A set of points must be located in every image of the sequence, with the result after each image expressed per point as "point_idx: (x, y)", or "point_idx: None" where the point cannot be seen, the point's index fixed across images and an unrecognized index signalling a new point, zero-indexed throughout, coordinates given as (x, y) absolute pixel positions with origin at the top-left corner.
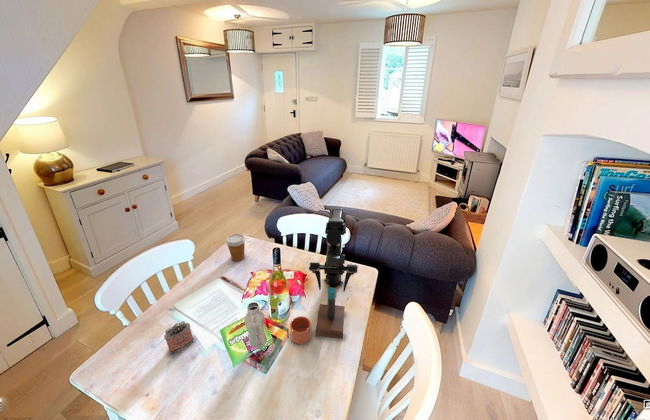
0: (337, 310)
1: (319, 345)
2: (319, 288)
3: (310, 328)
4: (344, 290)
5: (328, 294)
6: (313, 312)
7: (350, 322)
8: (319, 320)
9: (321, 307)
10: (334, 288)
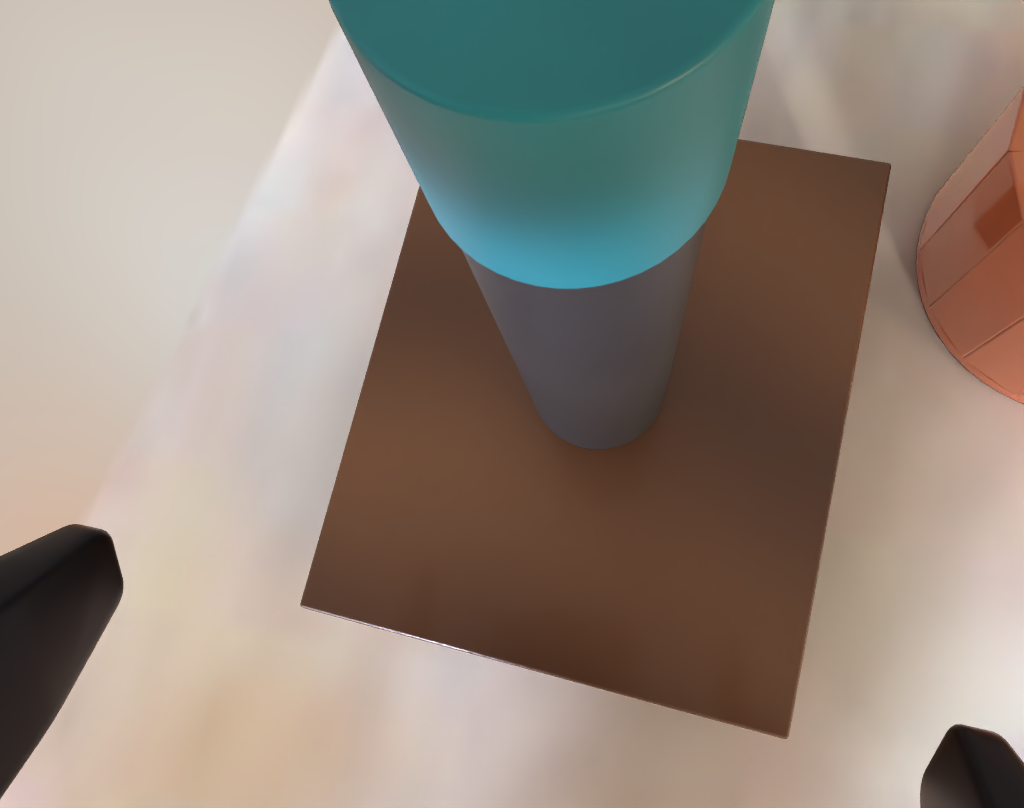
0: (453, 513)
1: (795, 102)
2: (1018, 771)
3: (993, 142)
4: (56, 534)
5: None
6: (867, 698)
7: (307, 424)
8: (816, 318)
9: (757, 631)
10: (369, 33)
